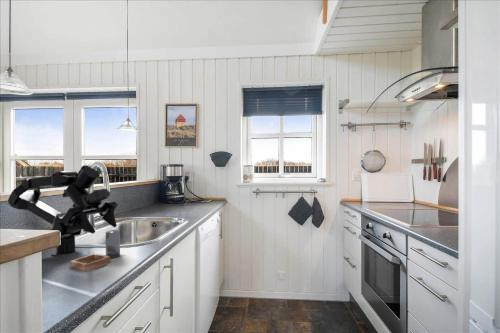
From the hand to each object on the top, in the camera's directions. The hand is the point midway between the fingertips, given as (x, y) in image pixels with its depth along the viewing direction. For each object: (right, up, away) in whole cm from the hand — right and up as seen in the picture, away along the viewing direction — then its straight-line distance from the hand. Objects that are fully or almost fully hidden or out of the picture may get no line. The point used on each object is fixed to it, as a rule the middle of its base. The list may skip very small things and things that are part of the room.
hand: (105, 229), depth 92 cm
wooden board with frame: (+1, -10, -5) cm, 11 cm away
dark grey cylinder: (+3, -9, -1) cm, 10 cm away
